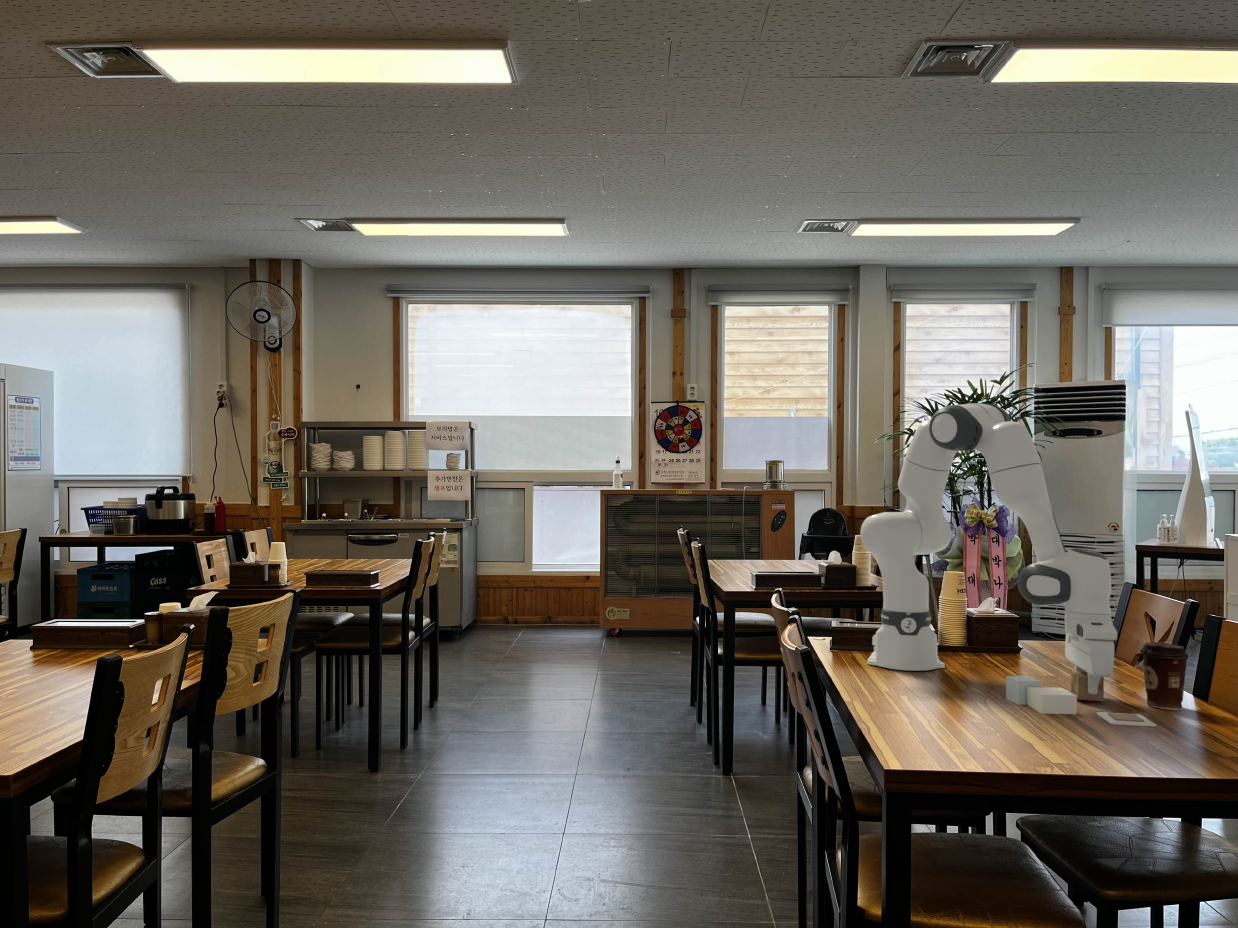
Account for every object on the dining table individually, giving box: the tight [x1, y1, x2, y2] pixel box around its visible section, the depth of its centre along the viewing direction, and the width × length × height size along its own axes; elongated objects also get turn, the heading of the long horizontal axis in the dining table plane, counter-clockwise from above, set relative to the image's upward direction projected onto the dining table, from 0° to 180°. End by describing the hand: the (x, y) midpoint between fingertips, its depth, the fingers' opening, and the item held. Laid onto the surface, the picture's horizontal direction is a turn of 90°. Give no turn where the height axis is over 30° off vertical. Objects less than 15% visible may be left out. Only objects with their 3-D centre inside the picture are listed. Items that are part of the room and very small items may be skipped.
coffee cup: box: [1139, 641, 1190, 711], centre depth 190 cm, size 9×8×13 cm
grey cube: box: [1005, 675, 1042, 706], centre depth 193 cm, size 5×5×5 cm
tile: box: [1096, 711, 1157, 727], centre depth 178 cm, size 8×8×1 cm
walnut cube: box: [1070, 670, 1105, 702], centre depth 195 cm, size 5×5×5 cm
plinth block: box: [1026, 686, 1078, 715], centre depth 186 cm, size 7×7×4 cm
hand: (1087, 689), depth 195 cm, fingers closed on walnut cube, 5 cm apart
